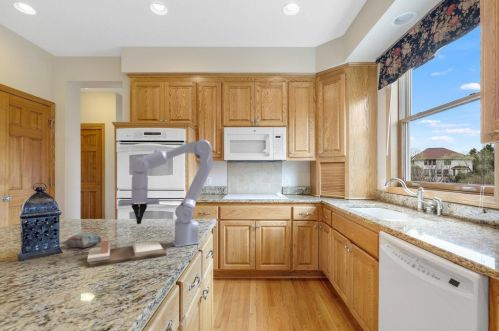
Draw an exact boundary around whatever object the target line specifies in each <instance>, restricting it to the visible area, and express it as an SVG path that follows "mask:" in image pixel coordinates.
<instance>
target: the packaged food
mask: <svg viewBox="0 0 499 331" xmlns="http://www.w3.org/2000/svg"><path fill="white" fill-rule="evenodd" d="M102 238H103V237H101V236H100V235H99V234H95V233H87V232H83V233H77V234H74V235H72V236H70V237H69V238H67V239H65V240H64V241H62V242H61V243H60V245H65V246H67V247H70V248H79V249H85V248H89V247H93V246H95V245H98V244H101V240H102Z"/></svg>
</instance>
